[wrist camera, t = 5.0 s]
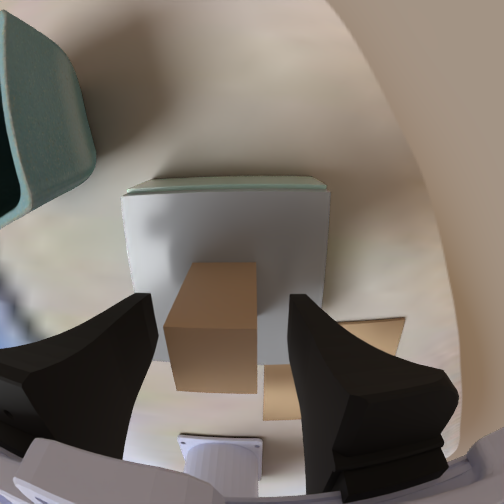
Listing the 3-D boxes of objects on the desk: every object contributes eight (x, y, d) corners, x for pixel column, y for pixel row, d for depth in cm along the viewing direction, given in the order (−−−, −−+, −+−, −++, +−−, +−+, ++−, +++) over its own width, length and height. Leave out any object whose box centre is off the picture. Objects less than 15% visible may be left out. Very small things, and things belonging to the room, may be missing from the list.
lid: (311, 353, 16) (330, 436, 11) (153, 351, 16) (122, 428, 11) (326, 189, 13) (375, 224, 7) (127, 193, 13) (56, 229, 7)
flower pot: (6, 109, 14) (-88, 116, 6) (99, 46, 13) (4, 3, 5) (33, 219, 17) (-57, 269, 9) (133, 173, 16) (35, 209, 8)
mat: (373, 408, 23) (374, 410, 23) (263, 417, 23) (263, 420, 23) (403, 317, 19) (405, 319, 19) (265, 324, 19) (265, 327, 19)
